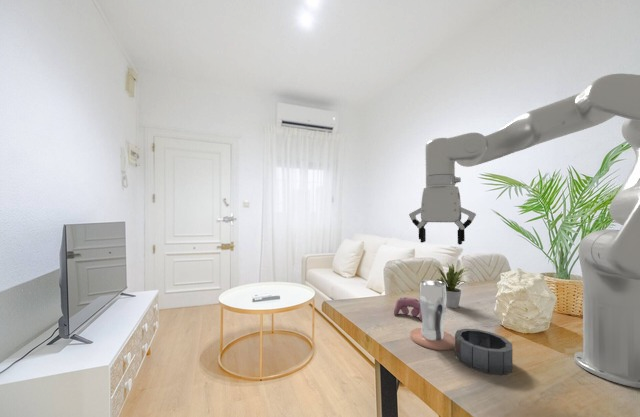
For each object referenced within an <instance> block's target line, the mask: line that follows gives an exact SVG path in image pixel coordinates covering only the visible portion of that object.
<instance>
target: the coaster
mask: <svg viewBox="0 0 640 417" xmlns="http://www.w3.org/2000/svg"><path fill="white" fill-rule="evenodd" d="M421 329H422V327H417V328H414V329H412V330H410V333H409V334H410V335H409V337H410V339H411V340H412V341H413V342H414V344H417V345H418V346H422V347H424V348H425V349H430V350H434V351H442V352H443V351H452V350H455V336H454V335H452V334H450V333H449V332H445V331H444V330H443V332H444V341H442V342H432V341H428V340H426V339H424V338H423V337H422V336H421Z"/></svg>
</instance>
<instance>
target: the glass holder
mask: <svg viewBox="0 0 640 417" xmlns="http://www.w3.org/2000/svg"><path fill="white" fill-rule="evenodd" d="M454 337H455V349H454V356H455V357H456V359H457V360H458V361H459V362H460V363H461V364H462V365H465V367H467V368H469V369H471V370H474V371H477V372H479V373H483V374H486V375H493V376H506V375H508V374H512V373H513V343H512V342H511V341H510V340H508V339H507V338H506V337H504V336H501V335H499V334H496V333H494V332H491V331H487V330H483V329H477V328H462V329H457V330H456V331H455V334H454Z"/></svg>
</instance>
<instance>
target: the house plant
mask: <svg viewBox="0 0 640 417" xmlns="http://www.w3.org/2000/svg"><path fill="white" fill-rule="evenodd" d="M446 264H447V266H448V271H447V272H446V275H445V273H444V272H443V270H441V268H439V267H438V266H436V265H435V267H436V269H437V271H438V272H439V273H440V275H439V278H440V279H439V278H436V281H441V282H444V283H445V284H446V298H447V300H446V306H447V307H446V308H449V307H451V309H457V308H459V306H460V300H461V296H462V290H461V289H460V288H458V285H459V287H461V286H462V285H464V284H465V283H467V284H469V285H470V283H469V282H472V281H471V280H470V281H469V280H467V281H463V280H462V281H461V280H460V279H461V278H463V276H464V275H466V273H465V272H468V271H469V269H466V267H464V268H461V269H459V270H458V271H455V265H454V264H453V263H451V265H449V263H446ZM463 273H464V274H463Z"/></svg>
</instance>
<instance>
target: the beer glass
mask: <svg viewBox="0 0 640 417" xmlns="http://www.w3.org/2000/svg"><path fill="white" fill-rule="evenodd" d="M419 283H420V284H419V295H418V296H419V297H418V298H419V299H418V300H419V301H420V309H421V315H422V321H421V323H422V324H421V328H422V329H421V336H422V337H423V338H424V339H426V340H428V341H432V342H442V341H444V332H445V331H444V320H445V319H444V318H445V316H446V315H445V314H446V309H447V307H446V300H447V298H446V284H447V283H446V282H445V283H446V284H445V283H444V282H441V281H438V280H437V279H435V280H434V279H422V280H420V282H419ZM443 331H444V332H443Z"/></svg>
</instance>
